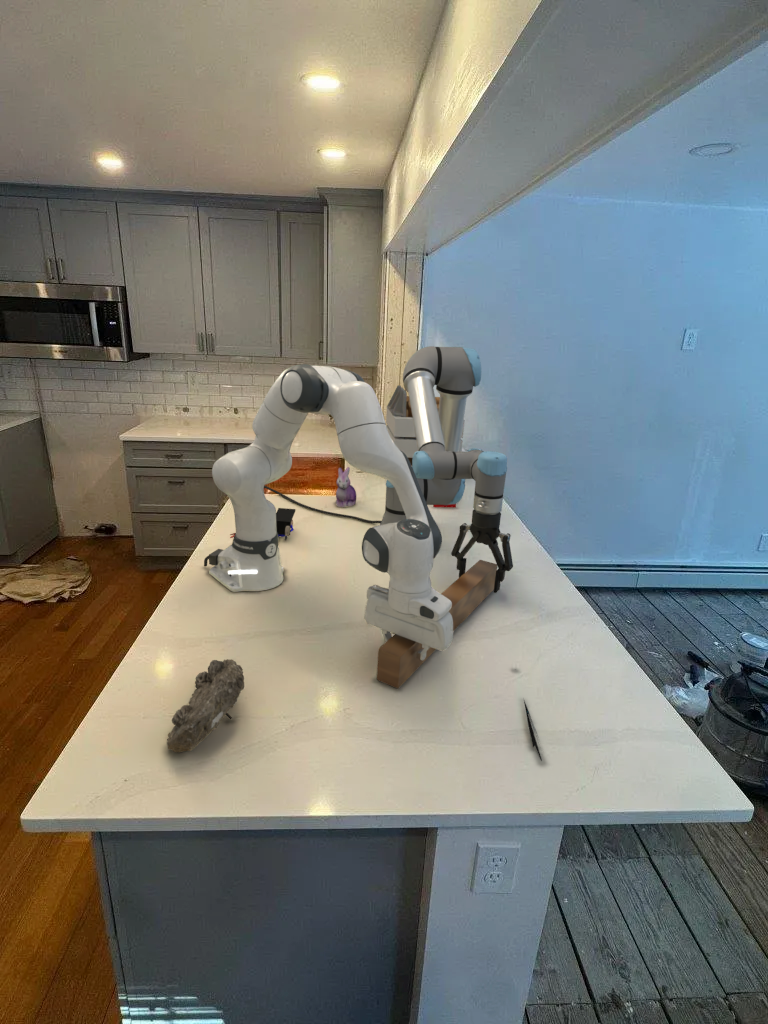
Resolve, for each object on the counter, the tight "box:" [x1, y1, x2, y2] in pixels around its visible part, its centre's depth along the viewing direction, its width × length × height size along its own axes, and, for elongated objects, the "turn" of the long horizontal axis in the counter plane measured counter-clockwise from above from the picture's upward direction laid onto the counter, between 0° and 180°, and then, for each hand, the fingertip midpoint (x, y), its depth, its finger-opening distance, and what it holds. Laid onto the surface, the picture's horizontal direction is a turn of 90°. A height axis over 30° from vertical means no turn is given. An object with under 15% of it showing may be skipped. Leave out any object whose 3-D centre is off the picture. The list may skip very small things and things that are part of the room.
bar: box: [376, 559, 498, 689], centre depth 141 cm, size 55×5×8 cm, turn 149°
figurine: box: [335, 466, 357, 508], centre depth 225 cm, size 9×10×15 cm
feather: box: [514, 668, 543, 762], centre depth 113 cm, size 2×28×2 cm
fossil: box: [166, 658, 245, 754], centre depth 106 cm, size 22×10×15 cm
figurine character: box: [276, 507, 296, 541], centre depth 193 cm, size 7×8×15 cm
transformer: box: [385, 384, 465, 466], centre depth 268 cm, size 34×33×41 cm
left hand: (405, 652), depth 124 cm, fingers open, 6 cm apart
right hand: (478, 585), depth 158 cm, fingers open, 10 cm apart
